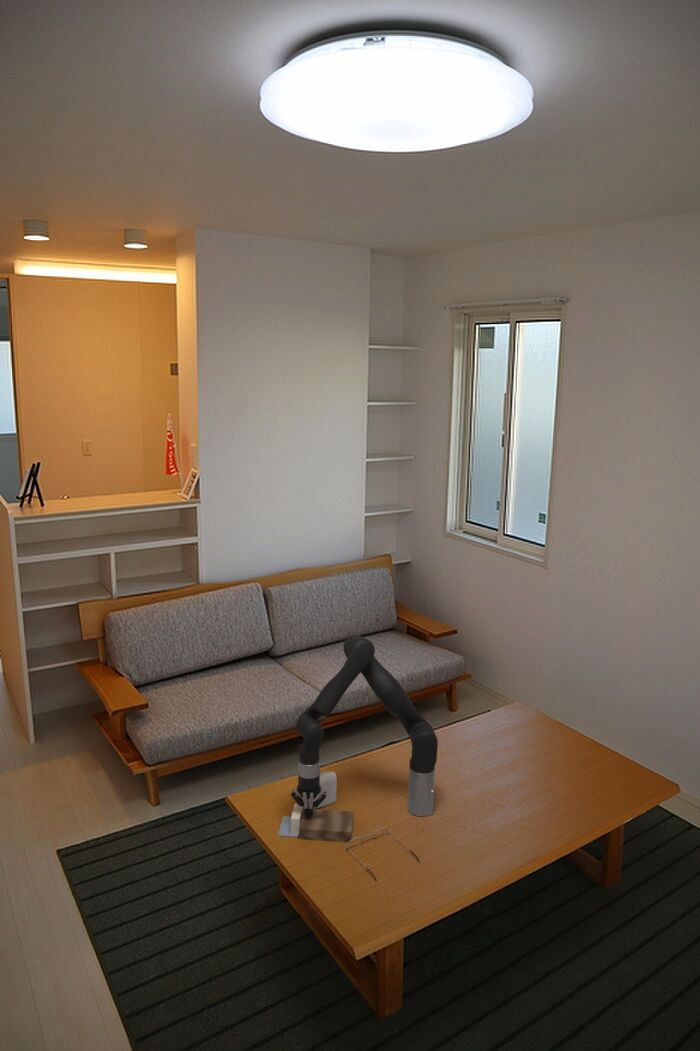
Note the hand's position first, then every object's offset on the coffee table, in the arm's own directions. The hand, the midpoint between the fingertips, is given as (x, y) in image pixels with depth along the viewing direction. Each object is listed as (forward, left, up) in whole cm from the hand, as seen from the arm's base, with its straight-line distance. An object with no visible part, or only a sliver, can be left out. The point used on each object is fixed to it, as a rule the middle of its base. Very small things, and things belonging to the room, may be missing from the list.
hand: (308, 816), depth 266 cm
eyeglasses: (-27, +12, -6) cm, 30 cm away
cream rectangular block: (+4, 0, -2) cm, 5 cm away
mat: (+6, 0, -5) cm, 8 cm away
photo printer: (-4, -16, -5) cm, 17 cm away
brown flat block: (-7, 0, -5) cm, 8 cm away
